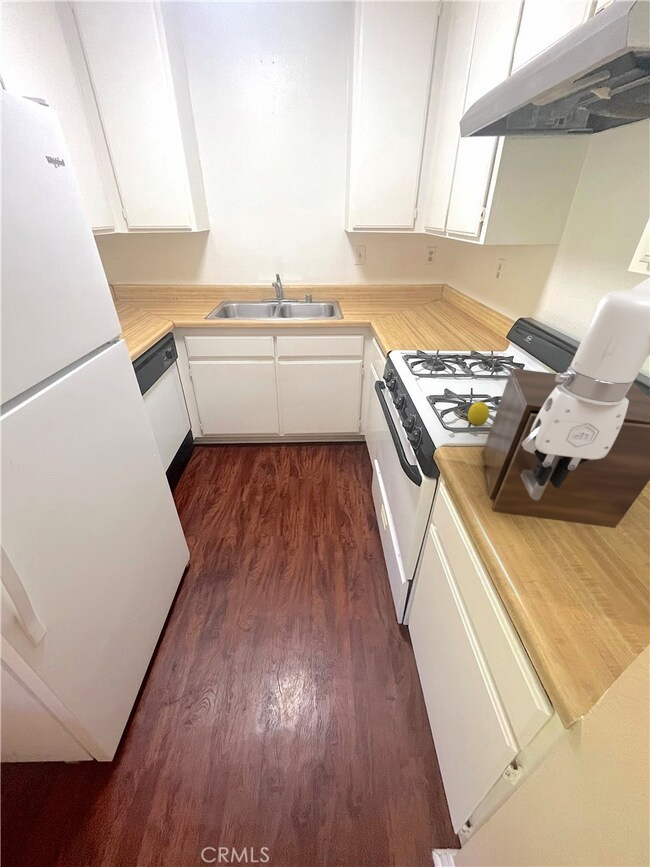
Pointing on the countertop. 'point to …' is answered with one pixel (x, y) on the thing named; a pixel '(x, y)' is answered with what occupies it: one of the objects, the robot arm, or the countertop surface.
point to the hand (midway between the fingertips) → (545, 481)
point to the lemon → (478, 413)
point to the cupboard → (528, 397)
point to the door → (580, 482)
